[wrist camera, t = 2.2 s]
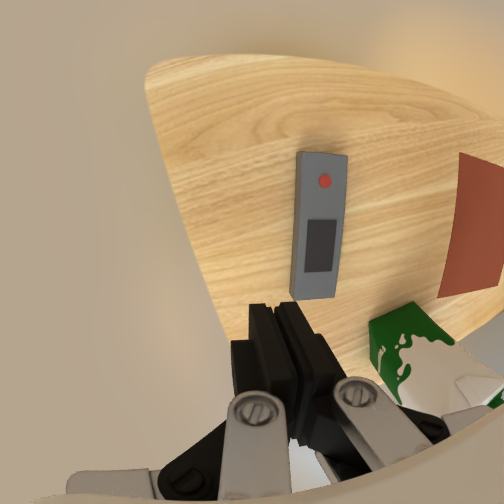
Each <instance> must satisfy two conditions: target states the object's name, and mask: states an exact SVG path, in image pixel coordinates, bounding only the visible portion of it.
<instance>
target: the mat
mask: <svg viewBox="0 0 504 504" xmlns="http://www.w3.org/2000/svg"><path fill="white" fill-rule="evenodd" d="M503 264H504V168H502V167H500V166H497V165H495V164H492V163H489V162H487V161H484V160H481V159H478V158H476V157H473V156H470V155H467V154H464V153H461V152H460V153H459V175H458V188H457V198H456V207H455V214H454V222H453V228H452V234H451V240H450V245H449V251H448V255H447V260H446V265H445V269H444V273H443V278H442V282H441V285H440V289H439V293H438V297H437V298H442V297H448V296H453V295H458V294H463V293H467V292H472V291H477V290H481V289H486V288H490V287H494V286H498V283H499V279H500V276H501V272H502V268H503Z"/></svg>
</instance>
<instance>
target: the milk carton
mask: <svg viewBox="0 0 504 504" xmlns="http://www.w3.org/2000/svg"><path fill="white" fill-rule="evenodd" d="M369 335H370V361H371V362H372V364H373V366H374V367H375V369H376V370H377V372H378V374H379V375H380V377H381V378H382V380H383V381H384V382H385V384H386V385H387V387H388V388H389V389H390V391H391V392H392V394H393V395H394V396H395V398H396V400H397V401H398V403H399V404H400V405H401V406H403V407H406V408H409V409H413V410H416V411H420V412H423V413H427V414H431V415H434V416H437V417H439V418H440V417H441V416H442V415H445V414H449V413H453V412H457V411H461V410H465V409H468V408H472V407H475V406H479V405H486V406H489V407H491V408H492V409H495V408H497V407H499V406H500V405H502V404H503V403H504V401H503V399H501V396H502V392H503V391H504V377H503V376H502V375H500V374H498V373H496V372H494V371H493V370H491V369H489V368H488V367H486V366H484V365H482V364H481V363H479V362H478V361H477V360H476V359H475V358H474V357H472V355H470V354H469V353H468V352H467V351H466V350H465V349H464V348H462V346H461V345H459V344H458V343H457V342H456V341H455V340H454V339H453V338H452V337H451V336H449V335H448V334H447V333H446V332H445V331H444V330H443V329H442V328H440V327H439V326H438V325H437V324H436V323H435V322H434V321H433V320H432V319H431V318H430V317H429V316H428V315H427V314H426V313H425V312H424V311H423V310H422V309H421V308H420V307H419V306H418V305H417V304H416V303H415V302H411V303H409V304H407V305H405V306H403V307H401V308H399V309H397V310H394V311H392V312H390V313H388V314H385V315H383V316H381V317H379V318H376V319H374V320H372V321H369Z"/></svg>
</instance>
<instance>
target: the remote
mask: <svg viewBox="0 0 504 504" xmlns="http://www.w3.org/2000/svg"><path fill="white" fill-rule="evenodd" d="M347 164H348V156H347V155H337V154H327V153H315V152H297V155H296V186H295V210H294V230H293V247H292V263H291V277H290V291H289V293H290V295H291V296H292V298H293V300H294V301H296V300H310V299H322V298H334V297H335V291H336V284H337V277H338V269H339V261H340V253H341V244H342V234H343V224H344V212H345V199H346V184H347Z"/></svg>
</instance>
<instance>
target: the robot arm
mask: <svg viewBox="0 0 504 504" xmlns="http://www.w3.org/2000/svg"><path fill="white" fill-rule="evenodd" d="M231 365H232V377H233V386H234V394H235V397H234V398H233V400H232V401H231V402H230V404H229V407H228V412H227V419H226V420H225V421H224V422H223V423H222V424H220V425H219V426H218V427H217V428H215V429H214V430H213V431H212V432H210V433H209V434H208V435H206V436H205V437H204V438H203V439H201V440H200V441H199V442H197V443H196V444H195V445H194V446H192V447H191V448H189V449H188V450H187V451H185V452H184V453H183V454H181V455H180V456H178V457H177V458H176V459H174V460H173V461H171V462H170V463H169V464H167V465H166V466H165V467H164V468H163V469H162V470H154V471H149V469H148V468H146V469H133V470H115V471H114V470H112V471H80V472H76V473H75V474H73V475H71V476H70V478H69V479H68V480H67V484H66V494H63V495H53V496H48V497H43V498H40V499H37V500H35V501H33V502H31V503H30V504H504V403H503V404H502V405H500V406H499V407H497V408H495V409H492V408H491V407H489V406H486V405H479V406H475V407H472V408H468V409H465V410H461V411H457V412H453V413H449V414H445V415H442V416H441V417H440V418H439V417H437V416H434V415H431V414H427V413H423V412H420V411H416V410H413V409H409V408H406V407H403V406H399V405H396V404H395V403H394V402H393V401H392V400H391V399H390V398H389V396H388V395H387V394H386V393H385V392H384V391H383V390H382V389H381V388H380V387H379V386H378V385H377V384H376V383H375V382H374V381H372V380H370V379H367V378H364V377H354V376H353V377H348V378H347V376H346V374H345V373H344V371H343V369H342V367H341V366H340V364H339V362H338V361H337V359H336V357H335V356H334V354H333V352H332V351H331V349H330V347H329V346H328V344H327V342H326V341H325V339H324V337H323V336H322V335H321V334H319V333H318V334H314V332H313V330H312V329H311V327H310V325H309V323H308V321H307V320H306V318H305V316H304V314H303V313H302V311H301V309H300V307H299V306H298V304H297V302H296V301H294V302H281V303H280V305H279V306H277V307H275V309H274V313H273V311H272V308H271V307H266V305H265V303H261V304H249V340H232V341H231ZM290 438H292V439H297V441H298V444H299V446H305V445H307V446H308V448H310V449H313V450H315V455H316V458H317V460H318V462H319V463H320V465H321V467H322V468H323V470H324V472H325V473H326V475H327V477H328V479H329V480H330V482H331V485H327V486H323V487H319V488H315V489H310V490H306V491H300V492H295V493H292V488H291V475H290V462H289V449H288V447H289V442H290Z"/></svg>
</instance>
